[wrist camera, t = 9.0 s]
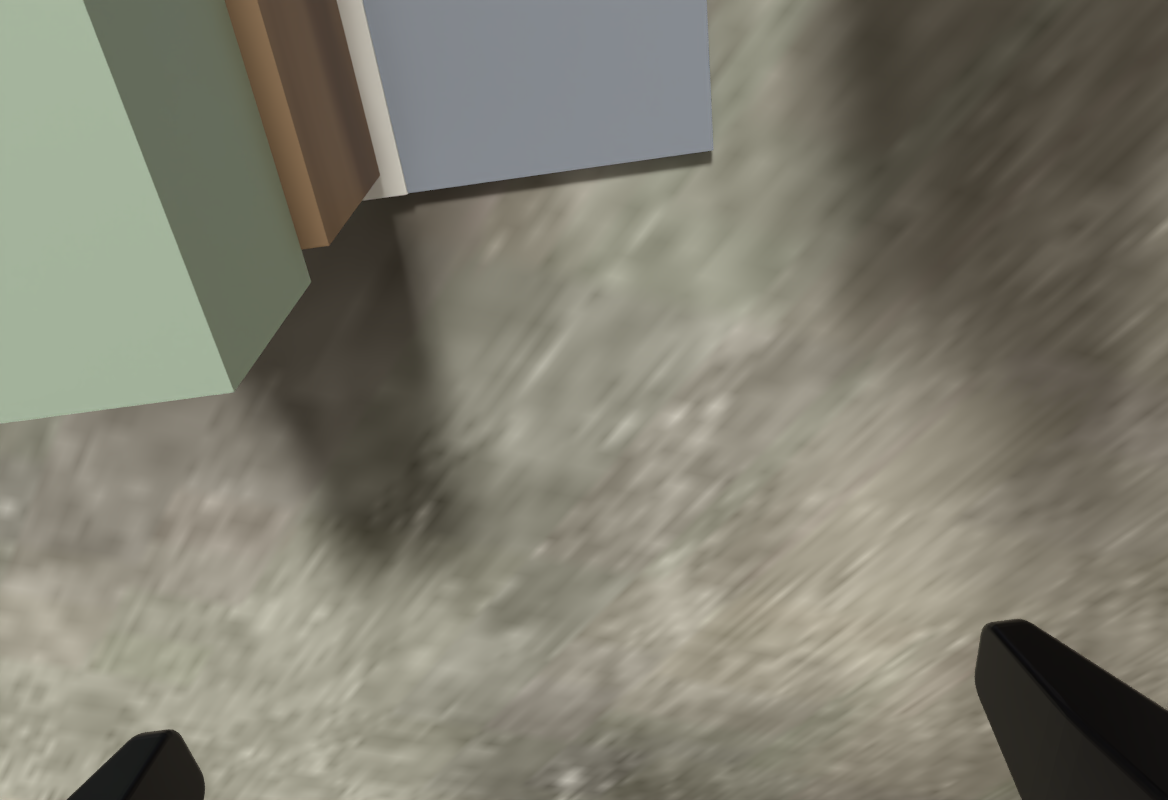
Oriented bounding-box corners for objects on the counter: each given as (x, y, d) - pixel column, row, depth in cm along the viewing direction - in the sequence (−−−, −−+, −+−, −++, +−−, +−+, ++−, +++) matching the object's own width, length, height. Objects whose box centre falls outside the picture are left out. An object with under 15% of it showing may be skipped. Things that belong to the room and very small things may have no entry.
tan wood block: (315, -84, 15) (227, -101, 11) (380, 175, 18) (329, 245, 13) (62, -47, 15) (-125, -48, 11) (160, 206, 18) (39, 286, 14)
